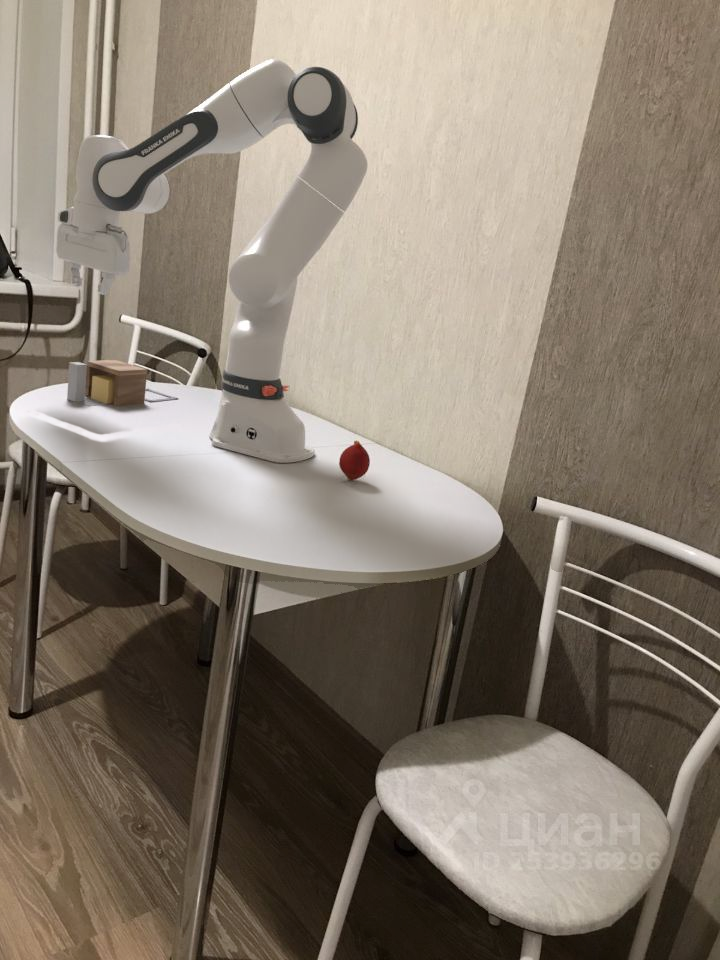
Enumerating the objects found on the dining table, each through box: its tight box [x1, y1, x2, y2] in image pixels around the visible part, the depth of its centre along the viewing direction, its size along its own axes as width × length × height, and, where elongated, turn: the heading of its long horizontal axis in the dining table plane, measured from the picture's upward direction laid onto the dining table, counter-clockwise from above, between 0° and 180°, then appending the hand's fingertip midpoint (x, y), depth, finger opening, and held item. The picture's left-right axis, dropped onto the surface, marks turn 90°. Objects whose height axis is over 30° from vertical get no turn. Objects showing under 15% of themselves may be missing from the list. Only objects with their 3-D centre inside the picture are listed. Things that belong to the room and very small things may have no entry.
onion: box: [338, 440, 371, 482], centre depth 141 cm, size 6×6×8 cm
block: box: [90, 375, 116, 403], centre depth 163 cm, size 5×5×5 cm
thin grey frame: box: [144, 388, 179, 403], centre depth 175 cm, size 10×9×2 cm
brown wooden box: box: [85, 359, 148, 407], centre depth 165 cm, size 10×8×9 cm
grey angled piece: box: [66, 361, 114, 408], centre depth 163 cm, size 6×15×9 cm, turn 150°
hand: (89, 290), depth 154 cm, fingers open, 8 cm apart
